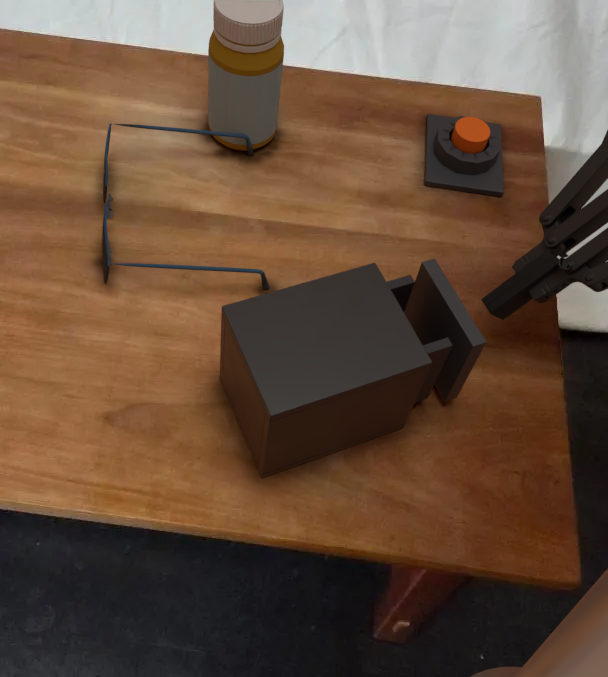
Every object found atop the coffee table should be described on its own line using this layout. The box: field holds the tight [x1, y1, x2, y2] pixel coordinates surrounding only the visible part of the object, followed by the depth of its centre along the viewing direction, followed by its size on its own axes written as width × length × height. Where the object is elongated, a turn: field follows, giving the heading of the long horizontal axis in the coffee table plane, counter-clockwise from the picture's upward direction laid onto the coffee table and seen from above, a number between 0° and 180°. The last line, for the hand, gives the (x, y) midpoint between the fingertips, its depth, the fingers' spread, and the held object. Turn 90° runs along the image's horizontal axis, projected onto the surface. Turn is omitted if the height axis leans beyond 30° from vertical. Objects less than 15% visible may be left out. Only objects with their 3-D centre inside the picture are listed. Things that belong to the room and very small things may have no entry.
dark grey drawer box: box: [219, 262, 432, 479], centre depth 64 cm, size 13×10×11 cm
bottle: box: [207, 0, 285, 152], centre depth 79 cm, size 7×7×15 cm
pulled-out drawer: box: [386, 258, 487, 403], centre depth 66 cm, size 13×8×9 cm, turn 113°
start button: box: [451, 116, 490, 154], centre depth 84 cm, size 4×4×2 cm
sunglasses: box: [101, 123, 270, 290], centre depth 76 cm, size 17×15×5 cm
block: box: [423, 113, 505, 198], centre depth 85 cm, size 10×8×2 cm
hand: (492, 309), depth 68 cm, fingers closed
